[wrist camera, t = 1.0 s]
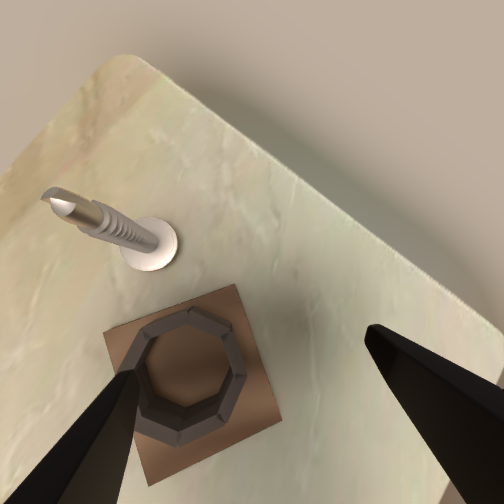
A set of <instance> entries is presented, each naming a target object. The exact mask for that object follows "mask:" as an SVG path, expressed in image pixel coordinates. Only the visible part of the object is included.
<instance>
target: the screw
mask: <svg viewBox="0 0 504 504" xmlns="http://www.w3.org/2000/svg"><path fill="white" fill-rule="evenodd" d="M41 200H42V201H45V202H47V203H49V204H51V208H52V210H53V212H54V213H55V214H56V215H57V216H58V217H60V218H61V219H63V220H64V221H66V222H68V223H71V224H74V225H77V227H78V228H79V230H81V231H82V232H83V233H86V234H88V235H89V236H91V237H94V238H97V239H100V240H104V241H107V242H110V243H113V244H116V245H119V246H120V252H121V255H122V257H123V258H124V260H125V261H126V262H127V263H128V264H129V265H130V266H132V267H134V268H135V269H138V270H142V271H154V270H158V269H161V268H163V267H164V266H166V265H167V264H168V263H170V262H171V261H172V259H173V258H174V256H175V254H176V252H177V247H178V239H177V236H176V233H175V231H174V229H173V228H172V227H171V226H170V225H169V224H168V223H166V222H165V221H164V220H161V219H159V218H155V217H144V218H140V219H137V220H135V221H133V220H131V219H129V218H128V217H126V216H125V215H123V214H121V213H120V212H118V211H116V210H115V209H114V208H112V207H109V206H108V205H106V204H103V203H100V202H98V201H95V200H92V201H89V200H88V199H86V198H84V197H82V196H80V195H78V194H75V193H73V192H70V191H68V190H65V189H62V188H58V187H52V188H50V189H48V190H47V191H46V192H44V194H43V195H42V197H41Z"/></svg>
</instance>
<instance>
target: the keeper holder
mask: <svg viewBox="0 0 504 504" xmlns="http://www.w3.org/2000/svg"><path fill="white" fill-rule="evenodd" d="M103 335H104V338H105V342H106V345H107V348H108V352H109V355H110V359H111V362H112V365H113V369H114V372H115V376H116V374H117V373H118V372H120V371H121V370H126V369H134V370H135V372H136V375H137V377H138V379H139V382H140V395H139V401H138V407H137V414H136V420H135V427H134V433H133V436H134V440H135V443H136V447H137V450H138V453H139V457H140V460H141V463H142V467H143V470H144V474H145V477H146V480H147V484H148V487H149V486H151V485H153V484H155V483H157V482H159V481H161V480H163V479H165V478H167V477H169V476H171V475H173V474H175V473H177V472H179V471H181V470H183V469H185V468H187V467H189V466H191V465H193V464H195V463H197V462H200V461H202V460H204V459H206V458H208V457H210V456H212V455H214V454H216V453H218V452H220V451H222V450H224V449H226V448H228V447H230V446H232V445H234V444H236V443H238V442H240V441H242V440H244V439H246V438H248V437H250V436H252V435H254V434H256V433H258V432H260V431H262V430H264V429H266V428H268V427H270V426H272V425H274V424H276V423H278V422H280V421H282V418H281V415H280V412H279V410H278V407H277V404H276V401H275V398H274V395H273V392H272V389H271V387H270V384H269V381H268V378H267V375H266V372H265V369H264V367H263V364H262V361H261V358H260V355H259V352H258V349H257V346H256V344H255V341H254V338H253V335H252V332H251V329H250V326H249V323H248V321H247V318H246V315H245V312H244V309H243V306H242V303H241V300H240V298H239V295H238V292H237V289H236V286H235V284H233V285H230V286H228V287H225V288H222V289H219V290H217V291H214V292H211V293H208V294H206V295H203V296H200V297H197V298H195V299H192V300H189V301H187V302H184V303H181V304H178V305H176V306H173V307H170V308H167V309H165V310H162V311H159V312H157V313H154V314H151V315H148V316H146V317H143V318H140V319H137V320H135V321H132V322H129V323H126V324H124V325H121V326H118V327H116V328H113V329H110V330H108V331H106V332H103Z"/></svg>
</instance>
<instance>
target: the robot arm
mask: <svg viewBox="0 0 504 504" xmlns="http://www.w3.org/2000/svg"><path fill="white" fill-rule="evenodd" d="M364 341H365V345H366V347H367V349H368V351H369V353H370V354H371V356H372V358H373V360H374V362H375V364H376V365H377V367H378V369H379V371H380V373H381V374H382V376H383V378H384V380H385V381H386V383H387V385H388V386H389V388H390V389H391V391H392V393H393V394H394V396H395V397H396V399H397V400H398V402H399V403H400V405H401V406H402V408H403V409H404V411H405V412H406V414H407V415H408V417H409V418H410V420H411V421H412V423H413V424H414V426H415V427H416V429H417V430H418V432H419V433H420V435H421V436H422V438H423V439H424V441H425V442H426V444H427V445H428V447H429V448H430V450H431V451H432V453H433V454H434V456H435V457H436V459H437V460H438V462H439V463H440V465H441V466H442V468H443V469H444V471H445V472H446V474H447V475H448V477H449V478H450V480H451V481H452V483H453V484H454V486H455V487H456V489H457V490H458V492H459V493H460V495H461V496H462V498H463V499H464V501H465V502H466V504H504V389H501V388H500V387H498V386H497V385H495V384H493V383H491V382H489V381H487V380H485V379H483V378H481V377H480V376H478V375H476V374H474V373H472V372H470V371H468V370H466V369H464V368H462V367H461V366H459V365H457V364H455V363H453V362H451V361H449V360H447V359H445V358H443V357H441V356H440V355H438V354H436V353H434V352H432V351H430V350H428V349H426V348H424V347H422V346H420V345H419V344H417V343H415V342H413V341H411V340H409V339H407V338H405V337H403V336H401V335H399V334H398V333H396V332H394V331H392V330H390V329H388V328H386V327H384V326H382V325H380V324H373V325H369V326H368V328H367V331H366V335H365V339H364ZM139 395H140V382H139V379H138V377H137V375H136V372H135V370H134V369H126V370H121V371H120V372H118V373H117V374H116V376H115V377H114V378H113V379H112V380H111V381H110V382H109V384H108V385H107V386H106V387H105V388H104V389H103V390H102V392H101V393H100V394H99V395H98V396H97V397H96V398H95V400H94V401H93V402H92V403H91V404H90V405H89V406H88V408H87V409H86V410H85V411H84V412H83V413H82V414H81V416H80V417H79V418H78V419H77V420H76V421H75V422H74V424H73V425H72V426H71V427H70V428H69V429H68V430H67V432H66V433H65V434H64V435H63V436H62V437H61V438H60V440H59V441H58V442H57V443H56V444H55V445H54V446H53V448H52V449H51V450H50V451H49V452H48V453H47V454H46V456H45V457H44V458H43V459H42V460H41V461H40V462H39V463H38V465H37V466H36V467H35V468H34V469H33V470H32V471H31V473H30V474H29V475H28V476H27V477H26V478H25V479H24V481H23V482H22V483H21V484H20V485H19V486H18V487H17V489H16V490H15V491H14V492H13V493H12V494H11V495H10V497H9V498H8V499H7V500H6V501H5V502H4V503H3V504H117V500H118V496H119V492H120V488H121V484H122V480H123V476H124V472H125V468H126V464H127V460H128V456H129V452H130V448H131V444H132V439H133V433H134V427H135V420H136V414H137V407H138V401H139Z"/></svg>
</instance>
